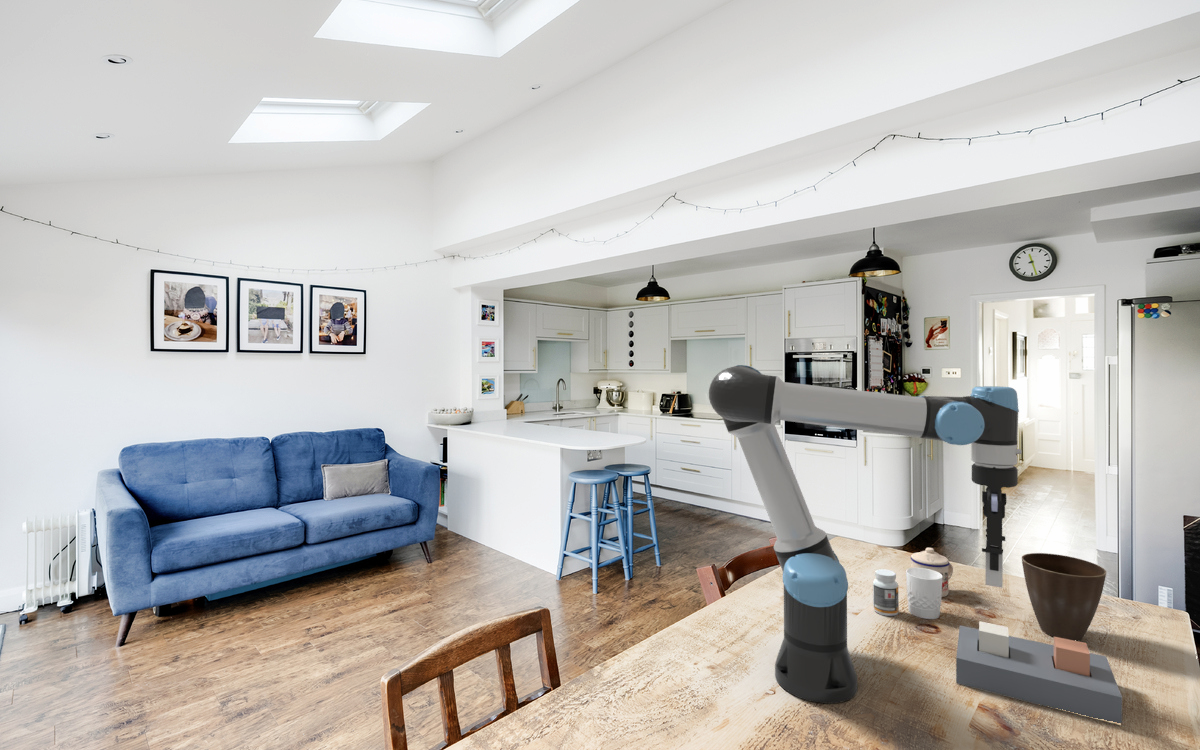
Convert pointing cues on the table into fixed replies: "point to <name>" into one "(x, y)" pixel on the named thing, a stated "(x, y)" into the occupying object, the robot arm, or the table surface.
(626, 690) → the table surface
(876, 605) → the pill bottle
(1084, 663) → the terracotta plug
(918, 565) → the teacup with lid
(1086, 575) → the plant pot
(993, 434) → the robot arm
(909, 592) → the white cup
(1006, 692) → the socket block
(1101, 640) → the table surface
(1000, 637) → the ivory plug
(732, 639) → the table surface
